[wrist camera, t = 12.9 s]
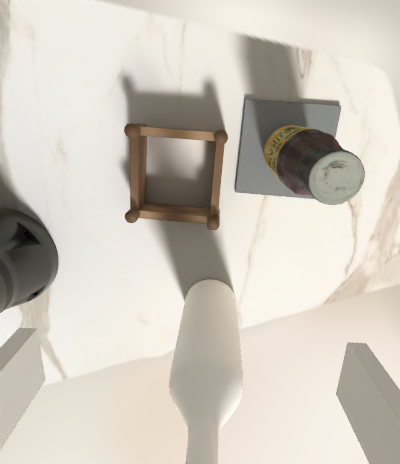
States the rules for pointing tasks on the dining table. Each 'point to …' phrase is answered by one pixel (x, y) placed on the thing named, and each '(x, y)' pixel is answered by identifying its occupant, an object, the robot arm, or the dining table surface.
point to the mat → (259, 130)
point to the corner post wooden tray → (138, 177)
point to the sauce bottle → (314, 164)
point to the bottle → (207, 367)
